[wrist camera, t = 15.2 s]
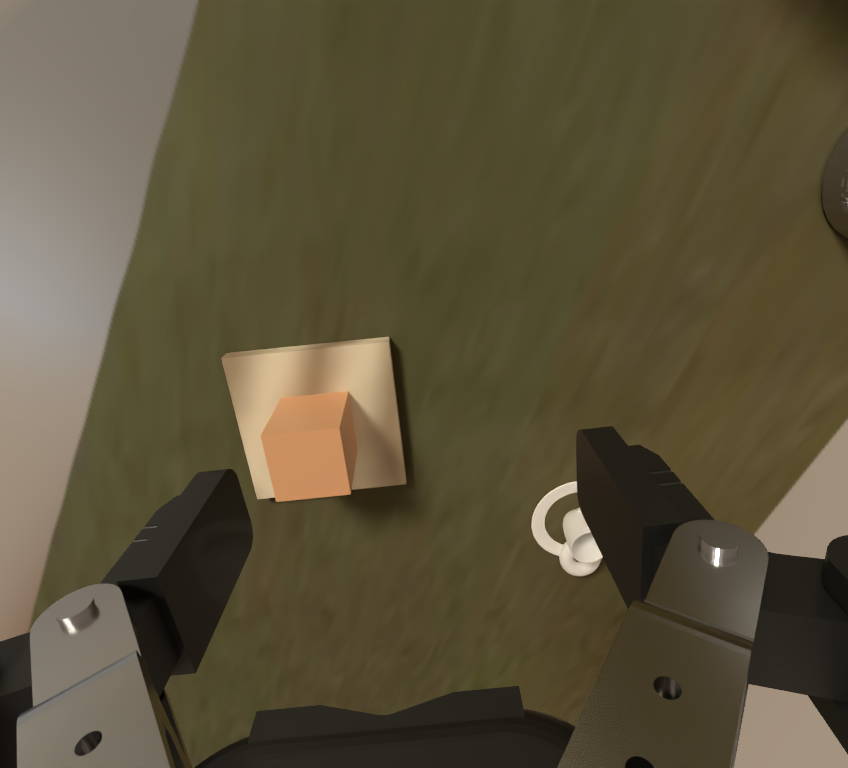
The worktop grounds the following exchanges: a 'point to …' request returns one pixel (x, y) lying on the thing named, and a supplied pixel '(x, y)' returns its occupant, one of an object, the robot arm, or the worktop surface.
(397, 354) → the worktop surface
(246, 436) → the post base
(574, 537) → the white ring and cup
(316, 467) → the salmon cube
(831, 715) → the robot arm
